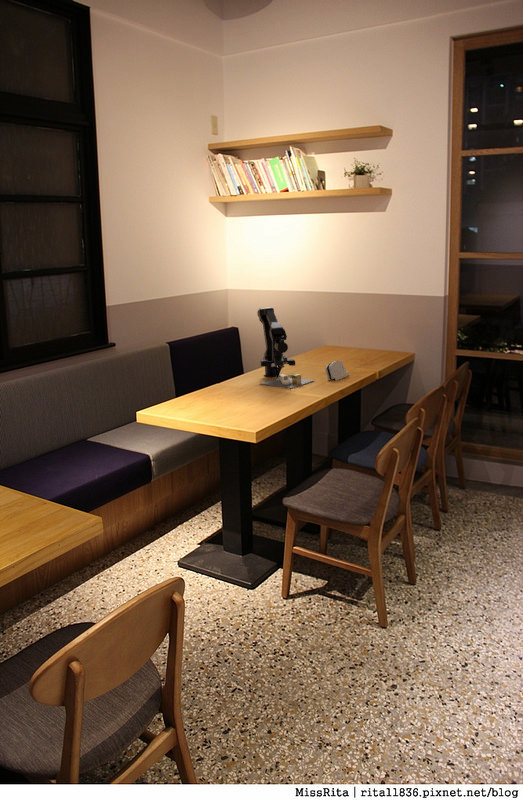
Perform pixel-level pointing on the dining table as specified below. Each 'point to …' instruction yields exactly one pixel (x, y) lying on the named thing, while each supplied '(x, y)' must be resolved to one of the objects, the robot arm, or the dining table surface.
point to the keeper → (295, 378)
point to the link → (284, 379)
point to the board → (279, 384)
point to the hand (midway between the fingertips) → (277, 378)
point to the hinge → (336, 370)
